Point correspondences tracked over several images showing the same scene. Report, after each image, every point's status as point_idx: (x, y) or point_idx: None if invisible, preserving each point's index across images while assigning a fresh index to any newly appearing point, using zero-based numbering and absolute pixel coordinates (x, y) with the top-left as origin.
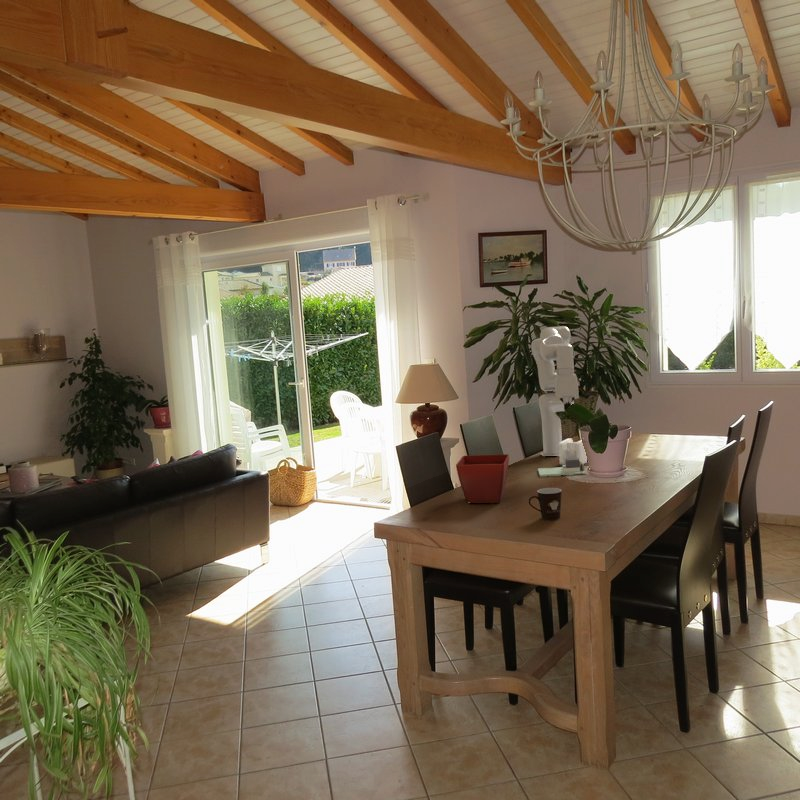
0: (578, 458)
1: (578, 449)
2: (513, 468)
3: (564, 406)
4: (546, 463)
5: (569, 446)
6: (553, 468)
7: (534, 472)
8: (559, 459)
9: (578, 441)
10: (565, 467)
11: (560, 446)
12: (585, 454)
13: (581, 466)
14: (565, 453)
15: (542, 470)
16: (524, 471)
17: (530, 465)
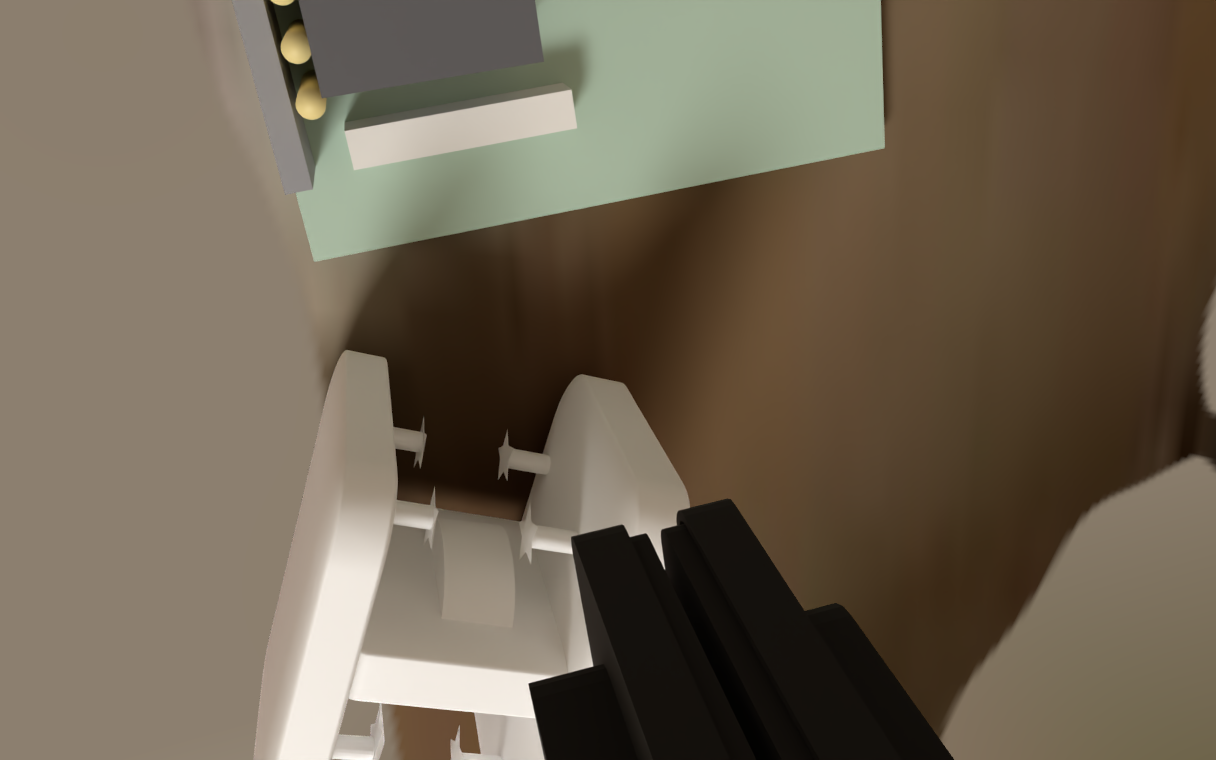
0: (316, 53)
1: (359, 436)
2: (1130, 293)
3: (918, 716)
4: (771, 539)
5: (524, 625)
6: (688, 130)
7: (917, 34)
8: (634, 400)
9: (368, 595)
10: (526, 91)
11: (657, 483)
12: (289, 576)
13: (279, 42)
14: (567, 507)
15: (830, 8)
16: (1029, 110)
17: (943, 442)
